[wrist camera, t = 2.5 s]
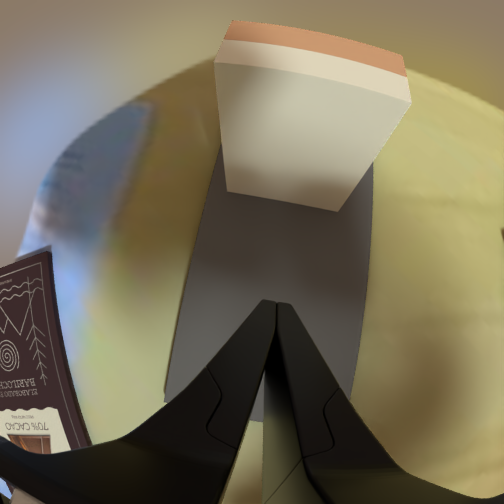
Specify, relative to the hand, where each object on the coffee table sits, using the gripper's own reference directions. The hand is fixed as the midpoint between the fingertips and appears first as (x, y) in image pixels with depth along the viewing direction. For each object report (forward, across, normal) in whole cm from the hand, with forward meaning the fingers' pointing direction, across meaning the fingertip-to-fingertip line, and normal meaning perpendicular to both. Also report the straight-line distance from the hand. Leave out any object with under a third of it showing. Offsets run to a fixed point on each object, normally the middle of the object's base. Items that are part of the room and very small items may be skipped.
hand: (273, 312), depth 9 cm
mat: (+8, 0, +2) cm, 8 cm away
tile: (+10, 0, -1) cm, 10 cm away
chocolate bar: (-1, +13, +11) cm, 17 cm away
